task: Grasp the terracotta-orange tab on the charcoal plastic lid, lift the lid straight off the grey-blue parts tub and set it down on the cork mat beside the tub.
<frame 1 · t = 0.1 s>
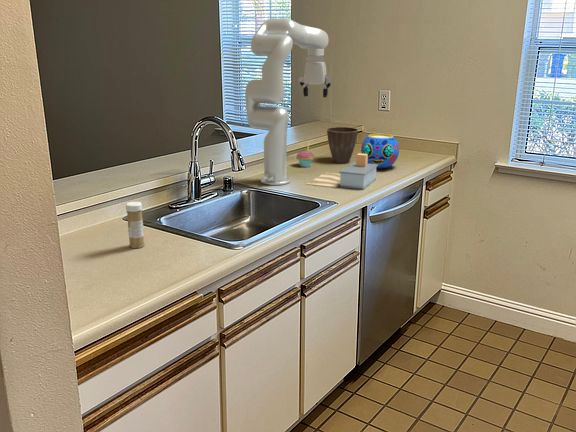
hand: (315, 96, 282), 31 cm above the worktop, tool pointing down, fingers open, 9 cm apart
ceramic pot: (379, 167, 278), on the worktop
lid: (358, 169, 248), point 6 cm above the worktop, touching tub
sprinkles bottle: (137, 246, 179), on the worktop
cupcake: (305, 166, 281), on the worktop
mat: (330, 180, 255), on the worktop
plant pot: (341, 162, 289), on the worktop
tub: (358, 183, 250), on the worktop
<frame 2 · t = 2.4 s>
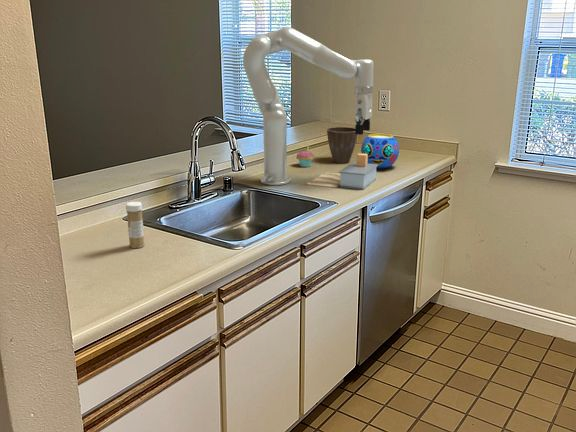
hand: (362, 132, 247), 21 cm above the worktop, tool pointing down, fingers open, 9 cm apart
nothing on the worktop moved.
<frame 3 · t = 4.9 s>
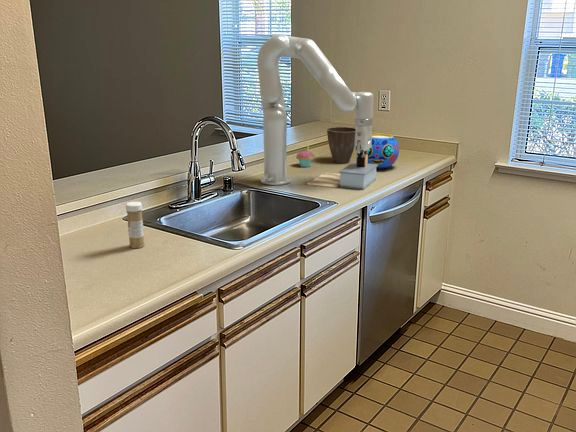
hand: (361, 165, 251), 7 cm above the worktop, tool pointing down, fingers closed on lid, 3 cm apart
lid: (358, 169, 248), point 6 cm above the worktop, touching gripper, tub
everything else where it was.
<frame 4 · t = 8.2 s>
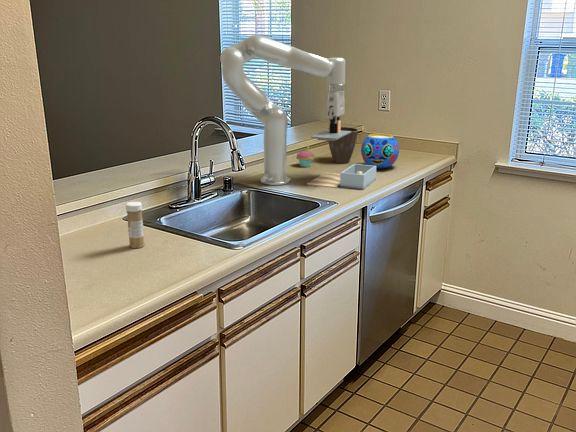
hand: (334, 131, 252), 20 cm above the worktop, tool pointing down, fingers closed on lid, 3 cm apart
lid: (331, 135, 249), point 19 cm above the worktop, touching gripper
everything else where it was.
when the fingers open (4 cm above the worktop, at t = 11.7 s): lid drops 2 cm, resting on mat.
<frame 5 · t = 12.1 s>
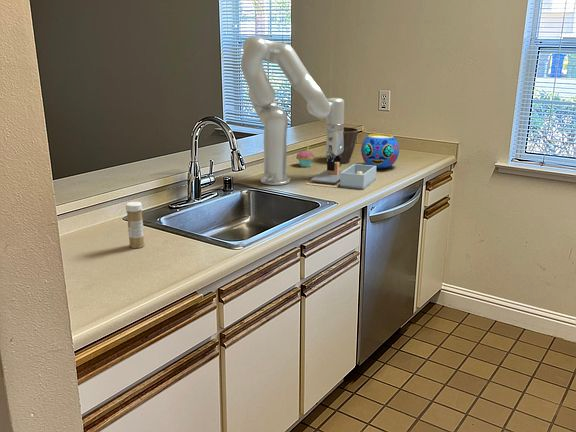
hand: (333, 168, 257), 4 cm above the worktop, tool pointing down, fingers open, 7 cm apart
lid: (330, 176, 254), point 1 cm above the worktop, touching mat
everything else where it was.
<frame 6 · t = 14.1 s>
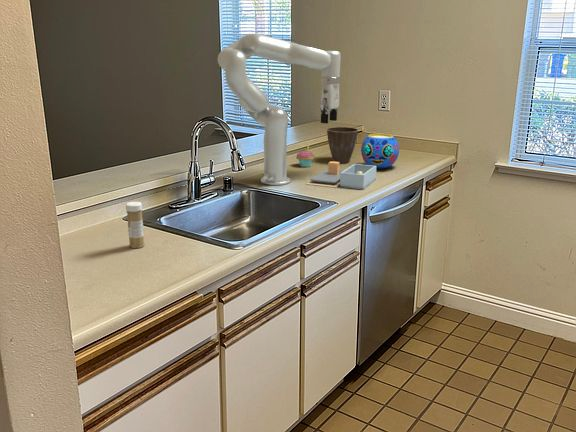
hand: (328, 121, 255), 24 cm above the worktop, tool pointing down, fingers open, 9 cm apart
nothing on the worktop moved.
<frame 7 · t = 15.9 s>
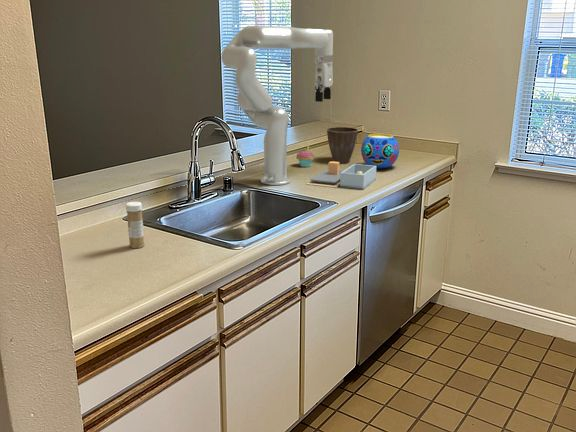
hand: (323, 100, 258), 32 cm above the worktop, tool pointing down, fingers open, 9 cm apart
nothing on the worktop moved.
at the end: lid inside the target area on the mat (0.2 cm from its centre), point 1.4 cm above the mat's base; lid touching mat; lid tilted 0° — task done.
